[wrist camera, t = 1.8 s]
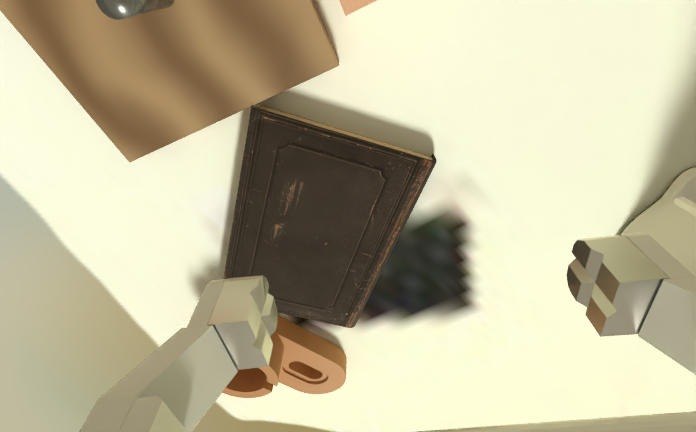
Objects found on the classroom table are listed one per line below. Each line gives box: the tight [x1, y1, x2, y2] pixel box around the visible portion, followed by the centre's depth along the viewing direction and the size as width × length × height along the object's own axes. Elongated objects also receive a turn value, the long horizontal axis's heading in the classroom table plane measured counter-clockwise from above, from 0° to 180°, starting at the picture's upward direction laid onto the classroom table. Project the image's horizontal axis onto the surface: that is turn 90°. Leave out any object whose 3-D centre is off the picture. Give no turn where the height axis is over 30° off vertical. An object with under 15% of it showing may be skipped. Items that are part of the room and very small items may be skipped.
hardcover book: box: [224, 105, 436, 328], centre depth 37 cm, size 16×23×2 cm
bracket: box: [222, 315, 346, 398], centre depth 46 cm, size 18×8×7 cm, turn 51°
